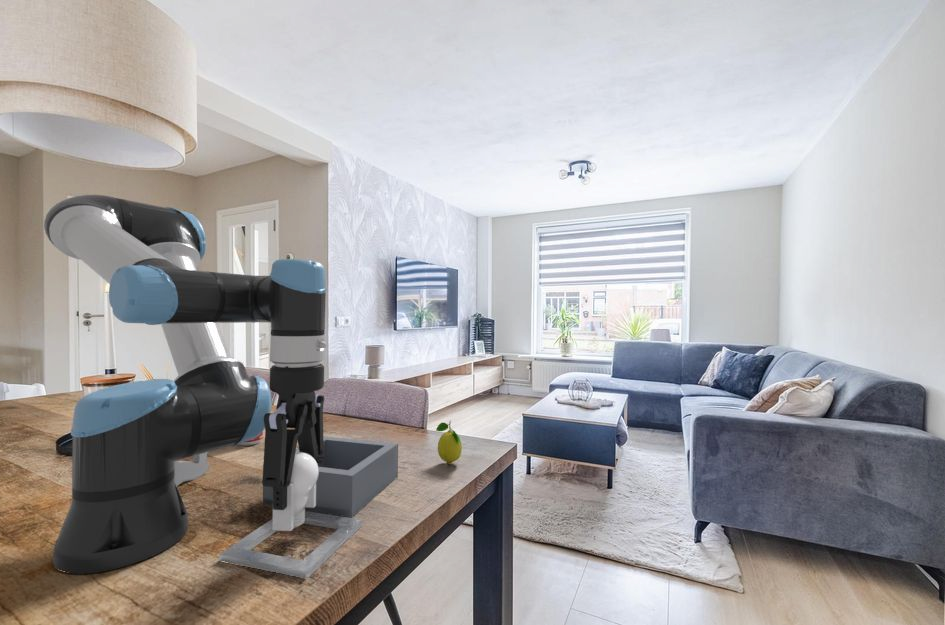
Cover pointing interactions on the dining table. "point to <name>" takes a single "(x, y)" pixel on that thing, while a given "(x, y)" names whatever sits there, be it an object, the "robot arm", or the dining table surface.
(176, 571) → the dining table surface
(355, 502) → the bin
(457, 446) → the lemon
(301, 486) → the lightbulb
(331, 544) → the grey square frame
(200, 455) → the light grey hook
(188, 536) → the dining table surface
